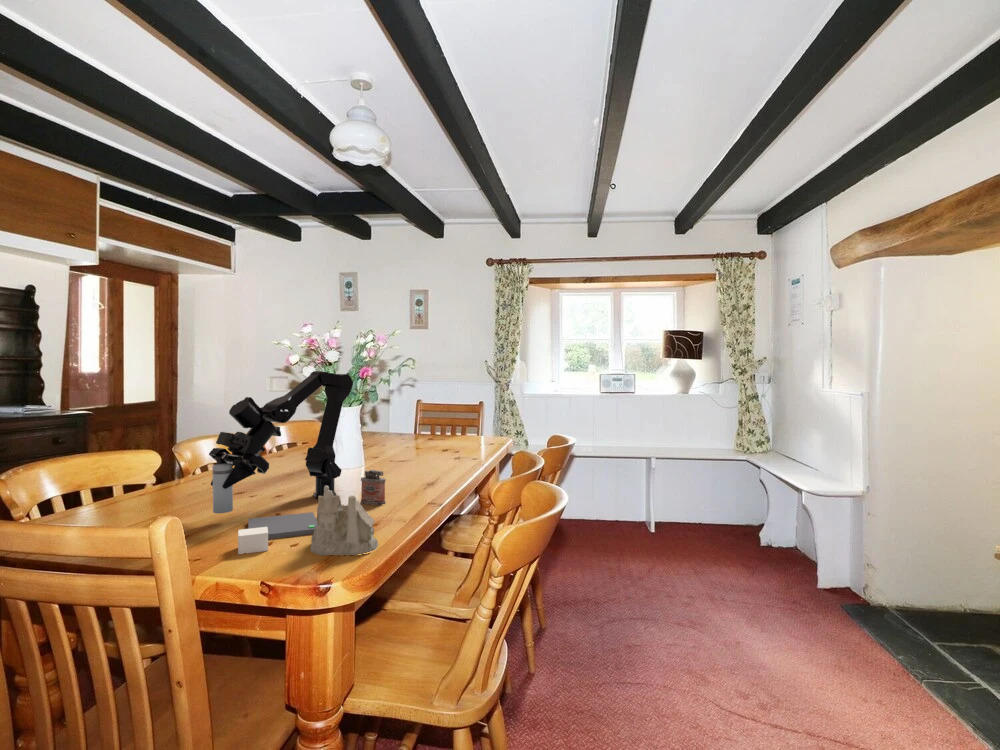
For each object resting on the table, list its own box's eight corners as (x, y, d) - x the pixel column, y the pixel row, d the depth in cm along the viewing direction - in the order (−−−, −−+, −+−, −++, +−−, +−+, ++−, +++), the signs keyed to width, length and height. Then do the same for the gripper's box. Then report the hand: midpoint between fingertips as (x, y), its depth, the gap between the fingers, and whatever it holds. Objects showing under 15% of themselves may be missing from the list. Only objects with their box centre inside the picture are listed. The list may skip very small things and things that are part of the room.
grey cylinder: (213, 509, 141) (213, 464, 141) (233, 507, 143) (232, 462, 143) (212, 514, 137) (211, 467, 136) (232, 512, 139) (232, 466, 138)
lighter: (358, 503, 161) (358, 470, 161) (364, 500, 164) (365, 468, 164) (381, 505, 158) (381, 472, 158) (387, 503, 162) (387, 470, 161)
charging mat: (239, 524, 139) (239, 508, 139) (313, 516, 147) (313, 501, 146) (238, 554, 117) (238, 536, 117) (324, 543, 124) (324, 526, 124)
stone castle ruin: (366, 558, 115) (366, 487, 116) (296, 556, 118) (295, 487, 118) (392, 539, 130) (392, 477, 131) (329, 538, 133) (329, 477, 134)
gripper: (215, 418, 147) (174, 464, 138) (259, 422, 138) (218, 472, 129) (241, 443, 154) (204, 489, 145) (285, 448, 145) (248, 498, 136)
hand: (217, 486), depth 139 cm, fingers closed on grey cylinder, 5 cm apart
